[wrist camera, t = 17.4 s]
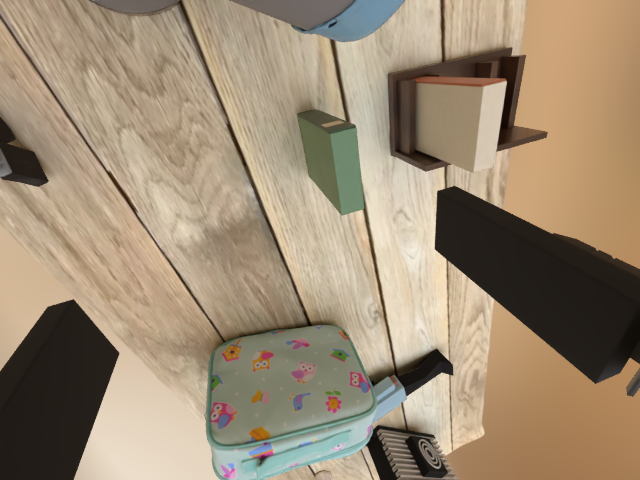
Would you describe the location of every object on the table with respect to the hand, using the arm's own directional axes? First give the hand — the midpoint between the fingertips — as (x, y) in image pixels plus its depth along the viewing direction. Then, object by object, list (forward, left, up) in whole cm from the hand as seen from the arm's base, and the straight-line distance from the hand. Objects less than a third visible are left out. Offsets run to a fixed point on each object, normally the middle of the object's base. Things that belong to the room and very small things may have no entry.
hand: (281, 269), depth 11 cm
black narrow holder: (-4, -24, -32) cm, 40 cm away
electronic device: (+98, +21, -32) cm, 105 cm away
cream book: (+3, +24, -30) cm, 39 cm away
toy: (+65, +17, -32) cm, 74 cm away
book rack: (+3, +30, -32) cm, 44 cm away
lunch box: (+40, -5, -32) cm, 51 cm away
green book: (+4, +9, -32) cm, 33 cm away
